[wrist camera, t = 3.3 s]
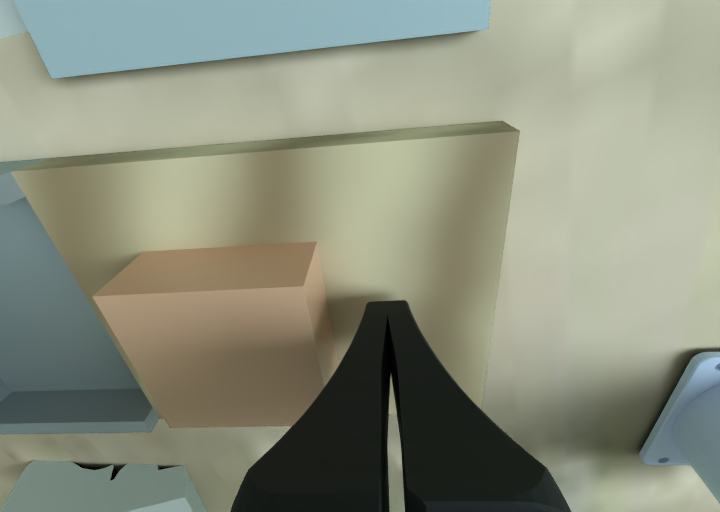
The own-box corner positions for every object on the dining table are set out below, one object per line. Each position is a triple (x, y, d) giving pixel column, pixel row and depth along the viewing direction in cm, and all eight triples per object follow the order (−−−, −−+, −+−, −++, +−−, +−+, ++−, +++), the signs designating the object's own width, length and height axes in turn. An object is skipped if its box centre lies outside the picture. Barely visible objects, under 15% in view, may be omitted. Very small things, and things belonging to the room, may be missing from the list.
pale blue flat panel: (486, -130, 8) (502, -155, 7) (474, 62, 10) (485, 64, 9) (-47, -50, 9) (-98, -62, 8) (37, 109, 12) (4, 115, 10)
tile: (317, 241, 11) (303, 286, 9) (338, 369, 15) (332, 425, 12) (143, 251, 12) (92, 296, 10) (199, 373, 15) (169, 427, 13)
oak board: (502, 120, 11) (519, 130, 9) (473, 384, 17) (481, 412, 16) (49, 158, 12) (10, 171, 11) (174, 391, 18) (159, 418, 17)
